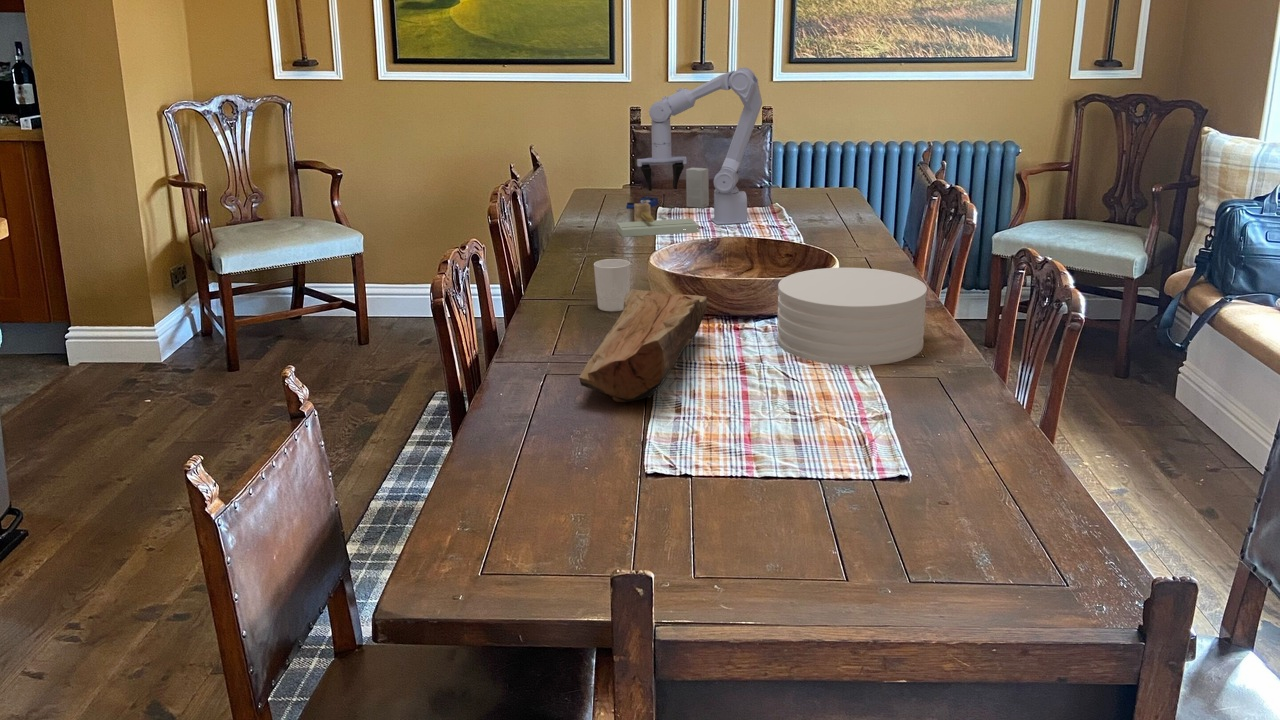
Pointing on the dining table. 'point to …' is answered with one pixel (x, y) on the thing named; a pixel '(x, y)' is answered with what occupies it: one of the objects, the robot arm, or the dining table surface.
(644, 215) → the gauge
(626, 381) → the log
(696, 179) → the skincare box
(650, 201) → the bar clamp
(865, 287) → the plate stack
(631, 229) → the board
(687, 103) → the robot arm
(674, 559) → the dining table surface
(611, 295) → the white cup
